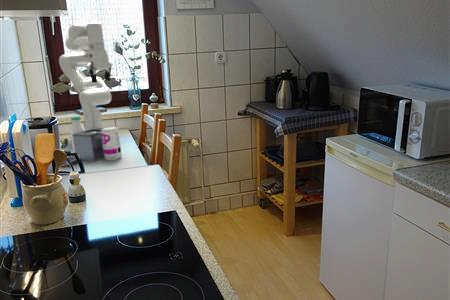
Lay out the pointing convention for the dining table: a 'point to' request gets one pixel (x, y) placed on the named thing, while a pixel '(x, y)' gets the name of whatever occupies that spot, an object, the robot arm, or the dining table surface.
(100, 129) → the box
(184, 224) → the dining table surface
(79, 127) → the milk bottle
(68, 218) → the dining table surface
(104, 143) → the supplement can
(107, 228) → the dining table surface
